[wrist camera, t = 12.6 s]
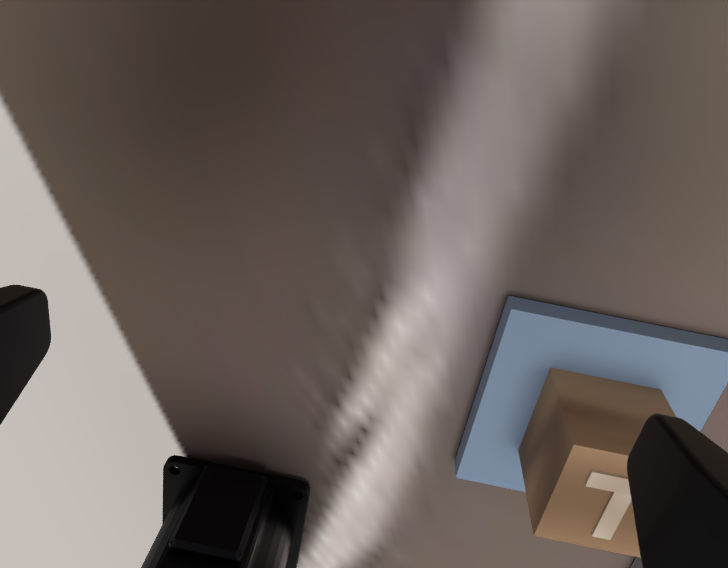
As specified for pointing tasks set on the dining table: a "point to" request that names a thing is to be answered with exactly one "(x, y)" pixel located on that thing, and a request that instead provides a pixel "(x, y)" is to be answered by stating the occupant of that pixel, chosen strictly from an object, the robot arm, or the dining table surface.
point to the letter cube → (585, 458)
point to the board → (581, 355)
